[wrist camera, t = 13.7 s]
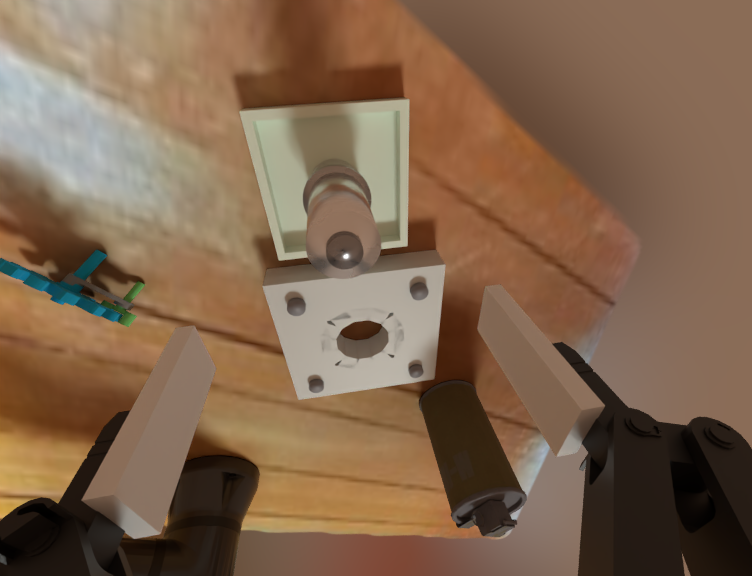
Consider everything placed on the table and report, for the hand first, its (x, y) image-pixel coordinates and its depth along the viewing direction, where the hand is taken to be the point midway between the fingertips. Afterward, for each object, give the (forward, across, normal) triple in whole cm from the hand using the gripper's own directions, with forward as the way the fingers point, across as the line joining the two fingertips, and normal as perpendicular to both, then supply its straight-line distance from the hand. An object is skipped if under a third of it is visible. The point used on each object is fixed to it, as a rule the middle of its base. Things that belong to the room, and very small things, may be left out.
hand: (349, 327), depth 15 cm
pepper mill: (+21, 0, 0) cm, 21 cm away
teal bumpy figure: (+22, -26, -7) cm, 35 cm away
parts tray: (+21, 0, 0) cm, 21 cm away
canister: (+22, +16, -39) cm, 48 cm away
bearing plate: (+21, +2, -18) cm, 28 cm away
